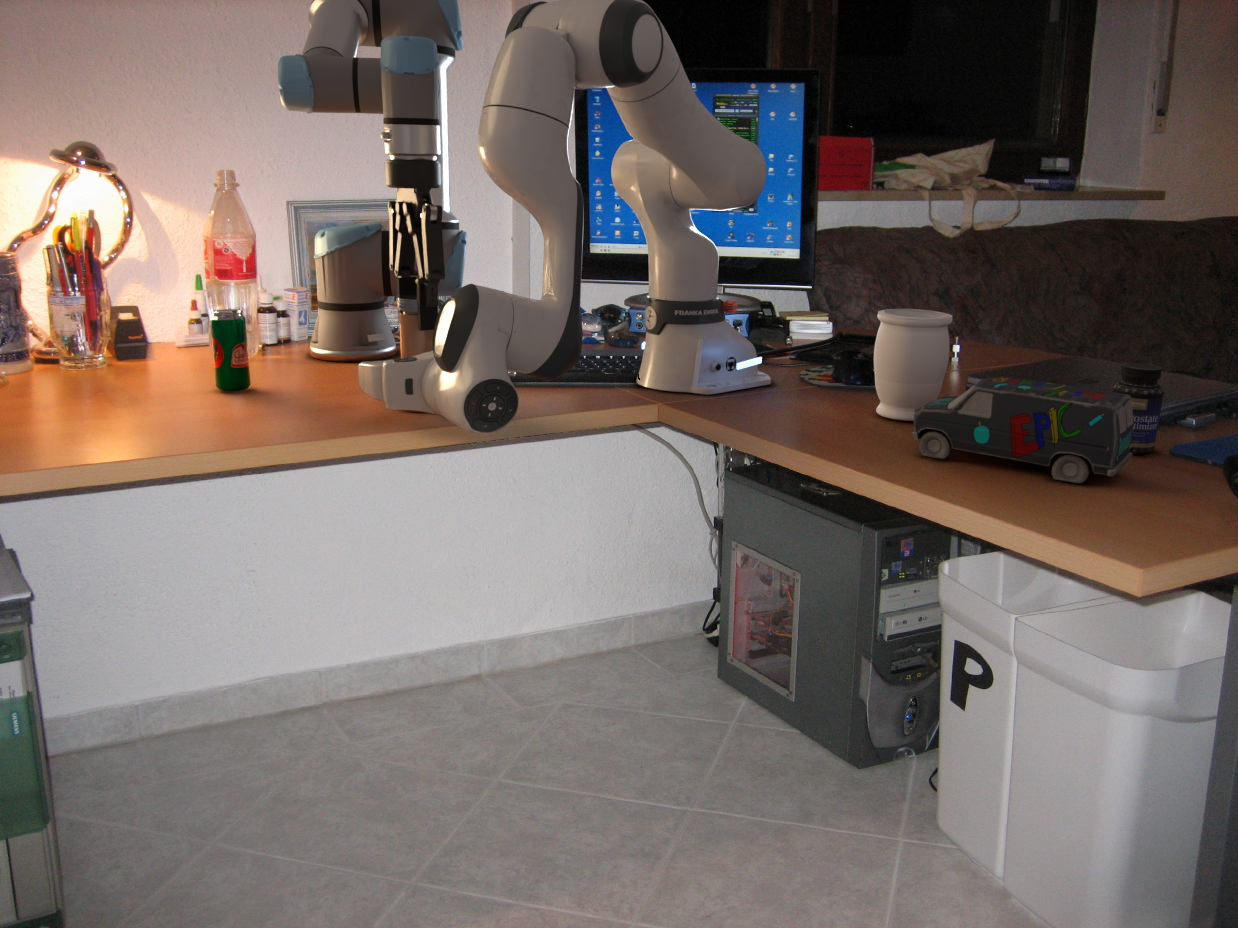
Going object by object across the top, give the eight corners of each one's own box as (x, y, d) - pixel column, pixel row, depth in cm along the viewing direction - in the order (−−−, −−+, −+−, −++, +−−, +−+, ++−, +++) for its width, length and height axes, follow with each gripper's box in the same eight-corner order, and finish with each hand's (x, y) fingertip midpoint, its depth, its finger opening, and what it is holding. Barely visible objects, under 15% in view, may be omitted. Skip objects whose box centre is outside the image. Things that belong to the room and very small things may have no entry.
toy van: (934, 436, 145) (942, 364, 142) (1131, 470, 131) (1144, 390, 128) (905, 453, 136) (913, 376, 134) (1112, 490, 123) (1125, 406, 120)
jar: (854, 409, 159) (862, 309, 155) (910, 404, 163) (920, 306, 159) (898, 426, 150) (909, 320, 146) (957, 420, 154) (969, 317, 150)
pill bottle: (1117, 454, 138) (1130, 370, 135) (1094, 442, 144) (1106, 361, 140) (1163, 454, 138) (1177, 370, 135) (1139, 442, 144) (1152, 361, 141)
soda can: (239, 393, 162) (233, 314, 158) (209, 391, 163) (202, 312, 159) (257, 386, 167) (251, 309, 163) (227, 384, 168) (221, 308, 164)
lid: (418, 305, 156) (418, 293, 155) (446, 309, 152) (446, 297, 152) (388, 309, 151) (388, 297, 151) (416, 313, 148) (416, 300, 147)
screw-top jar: (446, 407, 156) (444, 302, 152) (421, 414, 152) (417, 305, 148) (420, 402, 159) (417, 298, 155) (394, 408, 155) (390, 302, 151)
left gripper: (360, 156, 152) (368, 318, 158) (415, 159, 136) (420, 338, 143) (410, 157, 156) (416, 315, 162) (468, 159, 140) (472, 334, 146)
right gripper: (520, 353, 147) (484, 337, 158) (373, 363, 137) (346, 346, 149) (521, 397, 148) (485, 378, 160) (375, 411, 139) (349, 390, 151)
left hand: (418, 325), depth 152 cm, fingers open, 7 cm apart
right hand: (417, 363), depth 155 cm, fingers closed on screw-top jar, 5 cm apart
